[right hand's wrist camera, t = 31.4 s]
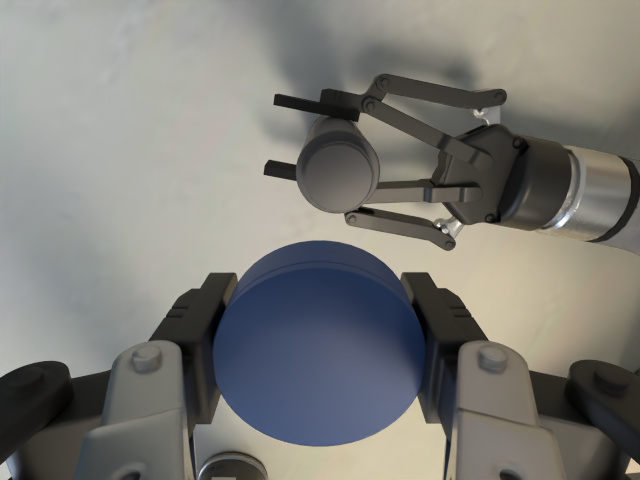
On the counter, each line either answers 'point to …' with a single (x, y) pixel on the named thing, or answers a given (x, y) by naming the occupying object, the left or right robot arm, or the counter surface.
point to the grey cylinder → (337, 166)
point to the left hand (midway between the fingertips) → (271, 134)
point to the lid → (319, 345)
